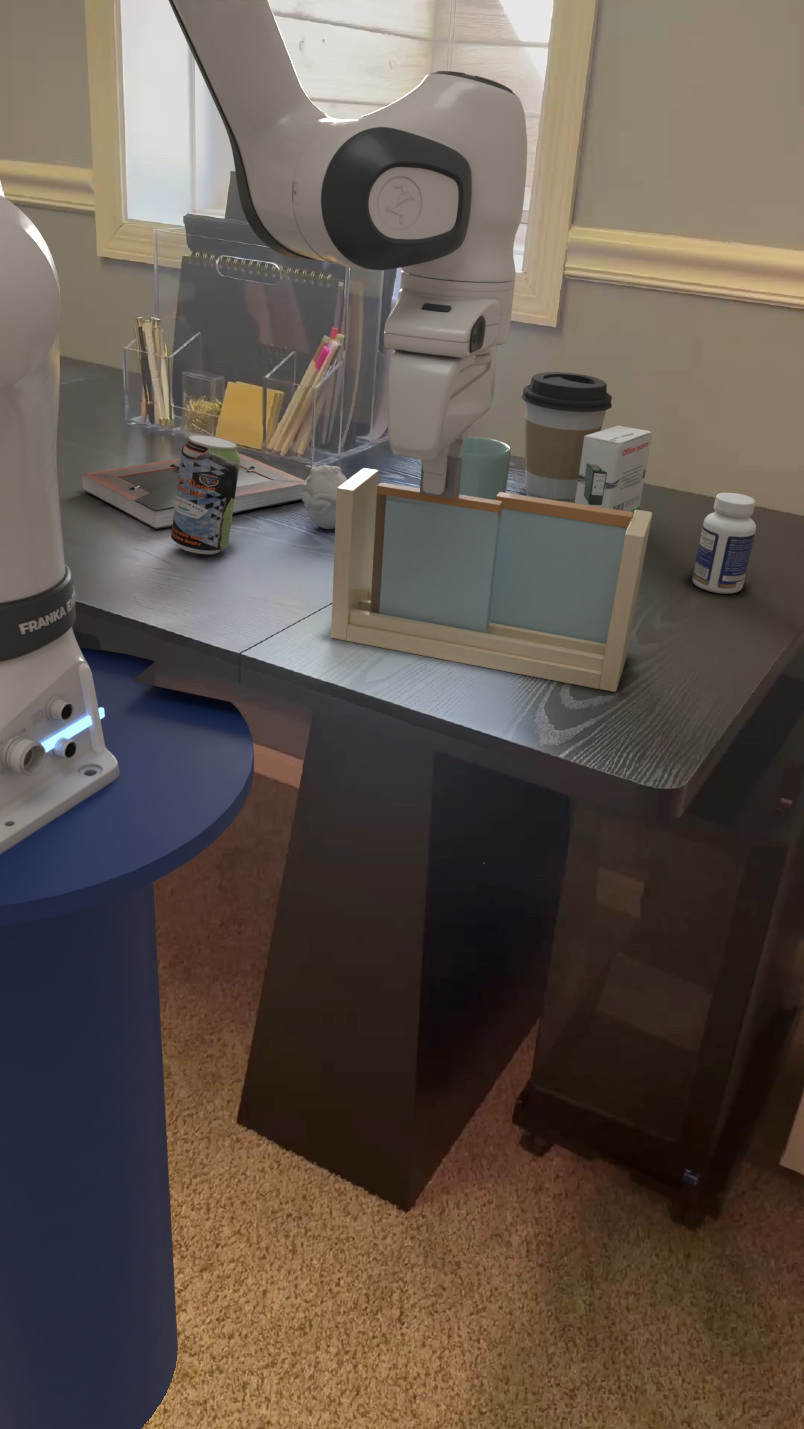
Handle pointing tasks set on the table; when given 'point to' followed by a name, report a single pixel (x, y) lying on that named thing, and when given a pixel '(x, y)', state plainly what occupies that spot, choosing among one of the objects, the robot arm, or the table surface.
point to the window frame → (512, 589)
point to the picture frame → (155, 488)
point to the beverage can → (205, 494)
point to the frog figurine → (322, 494)
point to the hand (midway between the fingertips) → (439, 486)
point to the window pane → (435, 554)
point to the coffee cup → (560, 430)
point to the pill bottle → (725, 544)
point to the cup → (484, 467)
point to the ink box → (613, 468)
